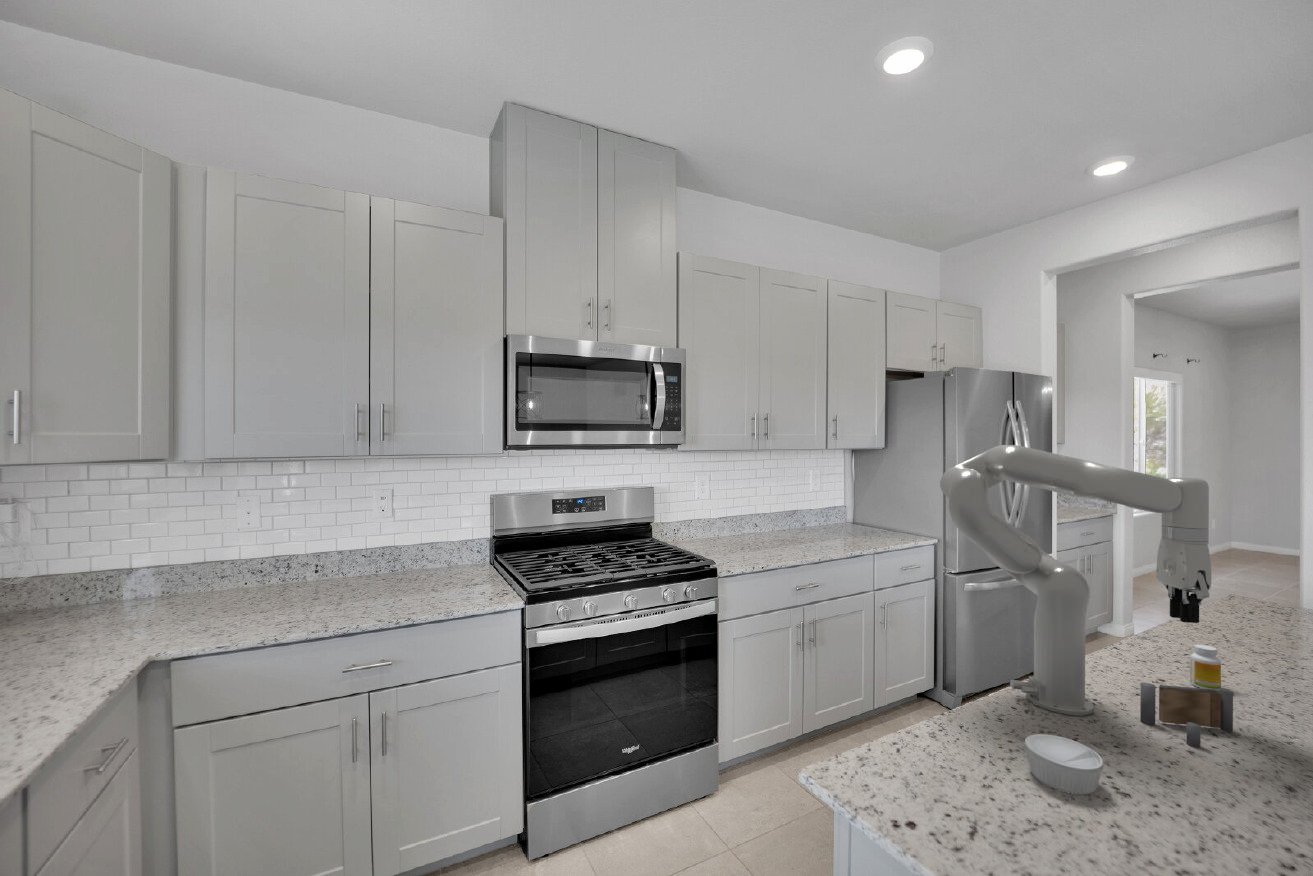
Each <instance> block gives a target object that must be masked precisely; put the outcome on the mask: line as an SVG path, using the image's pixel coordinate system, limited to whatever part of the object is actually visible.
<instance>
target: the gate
mask: <svg viewBox="0 0 1313 876" xmlns="http://www.w3.org/2000/svg"><path fill="white" fill-rule="evenodd" d="M1158 720H1159V721H1160V722H1162V723H1164V724H1165V723H1166V724H1175V725H1176V724H1177V725H1186V726H1187V722H1192V723H1196V724H1198V725H1200V726H1201V727H1207V728H1209V727H1210V728H1214V729H1219V728H1221V694H1220V693H1219V691H1218V690H1216V689H1204V688H1198V687H1191V686H1190V687H1189V686H1177V685H1165V684H1160V685H1159V686H1158Z"/></svg>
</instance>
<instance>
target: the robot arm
mask: <svg viewBox="0 0 1313 876" xmlns="http://www.w3.org/2000/svg"><path fill="white" fill-rule="evenodd" d="M1004 481H1008V482H1012V483H1016V484H1021V485H1023V486H1024V485H1025V486H1029V487H1034V488H1036V489H1041V490H1046V491H1050V492H1054V493H1058V494H1061V495H1068V496H1072V497H1076V498H1083V499H1090V500H1091V499H1092V500H1099V501H1104V502H1108V503H1113V504H1116V505H1117V504H1118V505H1122V506H1124V507H1127V508H1130V509H1133V510H1140V511H1145V512H1149V513H1153V514H1161V538H1160V540H1159V543H1158V549H1157V556H1156V557H1157V558H1156V568H1155V569H1156V570H1155V571H1156V573H1155V575H1156V579H1157V581H1159V582H1160V583H1162V584H1163V585H1164V587H1165V588H1166V590H1167V597H1168V598H1169V617H1170V618H1173V619H1174V618H1175V619H1179V620H1180V622H1182V623H1187V624H1189V623H1190V624H1191V623H1192V624H1199V623H1200V606H1202V601H1203V600H1204V599H1207V598H1210V592H1209V591H1210V590H1211V588H1212V564H1211V562H1212V561H1211V554H1210V549H1209V540H1210V539H1209V538H1210V537H1209V535H1210V533H1209V532H1210V530H1209V528H1210V527H1209V526H1210V525H1209V523H1210V521H1209V519H1210V517H1209V515H1210V511H1209V509H1210V504H1209V503H1210V502H1209V501H1210V500H1209V499H1210V495H1209V494H1210V487H1209V484H1208V481H1206V480H1204V479H1202V478H1194V477H1168V478H1165V477H1160V476H1156V475H1152V474H1147V473H1143V472H1139V471H1133V470H1129V469H1124V468H1120V467H1119V468H1118V467H1115V466H1110V465H1105V464H1102V463H1098V462H1093V461H1090V460H1086V459H1082V458H1078V457H1077V458H1076V457H1073V456H1066V455H1062V454H1058V453H1053V452H1049V451H1045V450H1041V449H1036V448H1031V447H1027V446H1021V445H1015V444H1000V445H996V446H994V447H992V448H991V447H990V448H989V449H988V450H985V451H984V452H981V453H979V454H977V455H976V456H973V457H971V458H969V459H967V460H965V461H963V462H960V463H959V464H956V465H954V466H952V467H950V468H949V469H947V470H946V471H945V472H944V473H943V474H942V475H941V478H940V480H939V487H940V490H941V492H942V494H943V495H944V496H945V497H946V498H947V499H948V510H949V513H950V517H951V520H952V522H953V524H954V526H955V527H956V529H957V530H959V532H961V534H963V536H965V537H966V538H967V539H968V540H969V541H971V542H972V543H973V544H975V546H977V547H978V548H979V549H980V550H982V551H983V552H984V553H985V556H986V557H987V558H988V560H990V561H991V562H993V564H995V565H996V566H997V567H999V568H1000V569H1001V570H1002V571H1004V572H1005V573H1007V574H1008V575H1009V576H1010V577H1012V578H1013V579H1014V580H1015V581H1016V582H1018V583H1020V584H1021V585H1022V586H1024V587H1025V588H1026V589H1028V590H1029V591H1030V592H1032V593H1033V594H1034V595H1036V596H1037V601H1036V607H1035V612H1034V615H1033V616H1034V618H1033V631H1034V632H1033V676H1032V675H1031V676H1028V679H1025V680H1024V681H1023V680H1022V681H1021V680H1015V679H1011V680H1010V681H1009V684H1010V685H1009V686H1010V688H1011V687H1012V688H1011V689H1012V690H1020V692H1021V693H1022V694H1025V697H1026V698H1027V700H1028V701H1029V702H1031V703H1032V704H1034V705H1035V706H1037V707H1040V708H1042V709H1045V710H1048V711H1051V712H1054V713H1058V714H1061V715H1069V716H1079V717H1080V716H1088V715H1091V714H1092V713H1094V709H1095V708H1094V704H1093V702H1092V701H1090V700H1089V699H1088V698H1086V624H1087V623H1086V622H1087V621H1086V620H1087V611H1088V607H1089V602H1090V597H1091V594H1090V593H1091V592H1090V591H1091V590H1090V586H1089V583H1088V581H1087V579H1086V578H1085V576H1084V575H1083V574H1082V573H1081V571H1079V570H1077V569H1076V568H1075V567H1073V566H1071V565H1069V564H1066V563H1064V562H1062V561H1060V560H1057V559H1055V558H1054V557H1053V556H1051V555H1050V554H1048V553H1047V552H1045V550H1043V549H1042V548H1040V547H1039V545H1038V543H1037V542H1036V541H1035V540H1034V539H1033V538H1032V537H1030V536H1029V535H1027V534H1026V533H1023V532H1022V531H1020V529H1017V528H1016V527H1015V526H1013V525H1012V524H1010V523H1009V522H1008V521H1006V519H1004V518H1002V516H1000V515H999V514H998V513H997V512H995V511H994V509H992V508H991V506H990V504H989V489H990V488H993V487H995V486H997V485H998V484H1000V483H1002V482H1004ZM1025 681H1028V682H1025Z"/></svg>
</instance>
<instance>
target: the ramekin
mask: <svg viewBox="0 0 1313 876" xmlns="http://www.w3.org/2000/svg"><path fill="white" fill-rule="evenodd" d="M1024 748H1025V750H1026V754H1027V755H1026V756H1027V760H1028V767H1029V770H1030V772H1031V773H1032V774H1033V776H1034V777H1035V779H1037V780H1038V781H1040V783H1041V784H1043V783H1044V784H1043V785H1045V784H1046V785H1045V786H1047V785H1048V787H1049V788H1051V787H1053V788H1054V790H1056V789H1057V790H1056V791H1058V790H1060V791H1059V792H1062V791H1063V792H1062V793H1065V792H1069V793H1073V794H1072V795H1075V794H1087V795H1090V793H1091V794H1092V793H1094V792H1095V791H1096V790H1097V789H1098V785H1099V783H1100V777H1101V772H1102V771H1103V770H1104V760H1103V758H1102V757H1101V756H1100V754H1099V753H1098V752H1096V751H1094V750H1093V749H1092V748H1091V747H1089V746H1087V745H1085V744H1082V743H1080V742H1078V741H1076V740H1072V739H1071V738H1070V739H1069V738H1066V737H1064V736H1059V735H1054V734H1046V733H1045V734H1044V733H1042V734H1041V733H1037V734H1031V735H1029V736H1027V737H1025V740H1024ZM1053 788H1052V789H1053ZM1069 793H1068V794H1069Z"/></svg>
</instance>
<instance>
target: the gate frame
mask: <svg viewBox="0 0 1313 876" xmlns="http://www.w3.org/2000/svg"><path fill="white" fill-rule="evenodd" d="M1156 689H1157V688H1156V685H1154V684H1152V683H1149V682H1145V681H1144V682H1140V699H1139V700H1140V701H1139V703H1140V710H1139V711H1140V713H1139V714H1140V715H1139V716H1140V719H1139V720H1140V723H1142V724H1145V725H1147V726H1156ZM1201 727H1202V726H1200V725H1198V724H1196V723H1192V722H1187V725H1186V745H1187V744H1188V745H1187V746H1190V747H1192V746H1193V747H1192V748H1195V747H1197V748H1196V749H1200V748H1201V745H1202V744H1201V729H1202V728H1201Z"/></svg>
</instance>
